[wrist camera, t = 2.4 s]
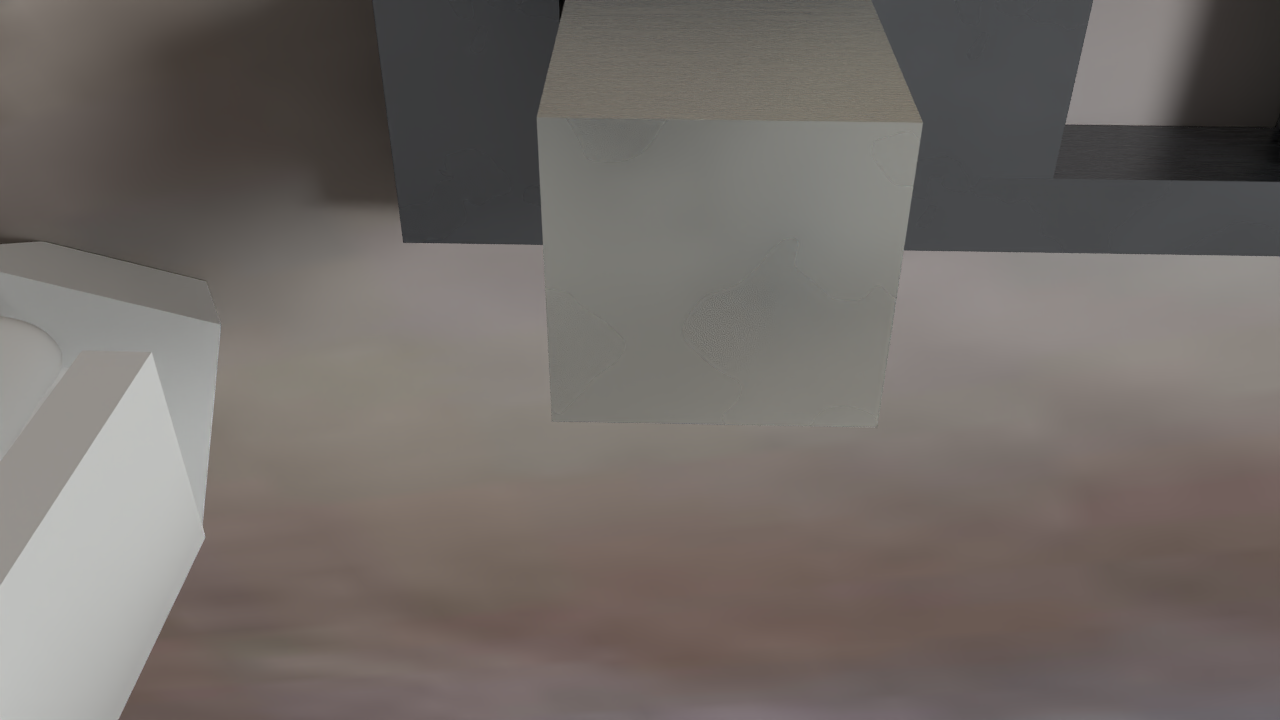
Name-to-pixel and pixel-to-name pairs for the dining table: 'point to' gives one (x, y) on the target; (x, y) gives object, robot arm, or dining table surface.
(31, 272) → the figurine
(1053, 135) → the dark grey flat block
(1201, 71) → the dining table surface
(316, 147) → the dining table surface
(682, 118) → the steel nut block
